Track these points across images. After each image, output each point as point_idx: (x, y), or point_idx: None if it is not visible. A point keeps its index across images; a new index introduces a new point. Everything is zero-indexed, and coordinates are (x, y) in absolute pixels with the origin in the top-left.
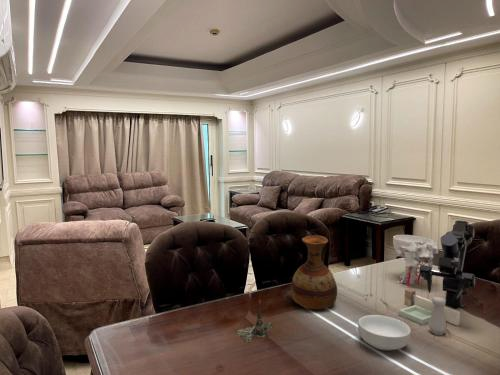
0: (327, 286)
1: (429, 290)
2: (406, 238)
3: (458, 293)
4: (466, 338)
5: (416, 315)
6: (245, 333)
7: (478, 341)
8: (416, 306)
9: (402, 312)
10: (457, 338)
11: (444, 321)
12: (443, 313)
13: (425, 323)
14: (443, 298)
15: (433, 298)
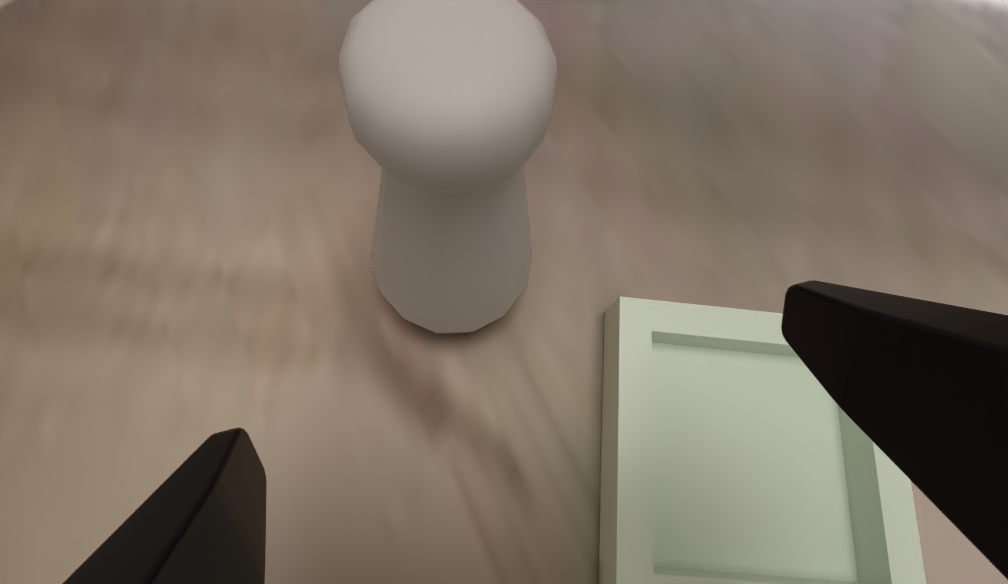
0: None
1: (811, 290)
2: None
3: (142, 508)
4: (227, 382)
5: (758, 451)
6: None
7: (124, 414)
8: None
9: None
10: (288, 314)
11: (376, 221)
12: (381, 176)
13: (605, 358)
14: (393, 102)
15: (524, 8)
